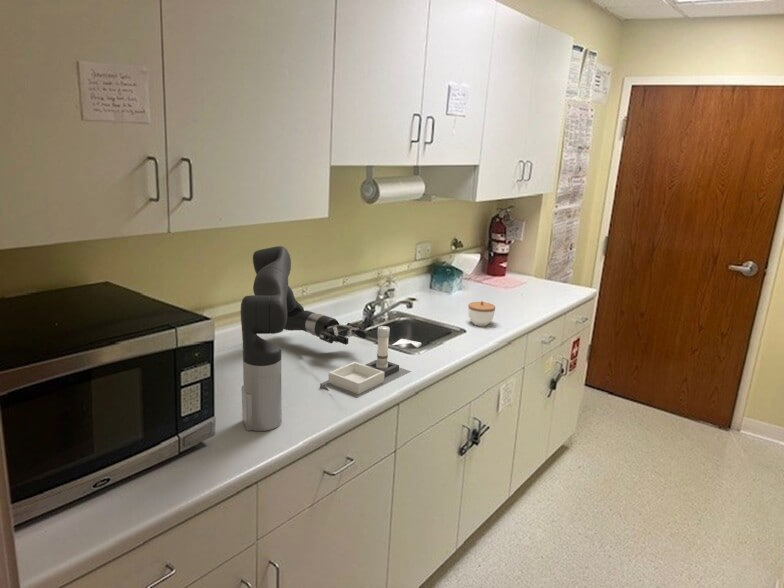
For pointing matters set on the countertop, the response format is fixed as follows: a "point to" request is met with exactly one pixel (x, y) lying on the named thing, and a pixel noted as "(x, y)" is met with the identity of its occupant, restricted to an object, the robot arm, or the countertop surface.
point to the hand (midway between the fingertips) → (357, 338)
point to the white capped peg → (382, 347)
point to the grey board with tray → (362, 378)
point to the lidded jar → (481, 313)
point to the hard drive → (404, 341)
